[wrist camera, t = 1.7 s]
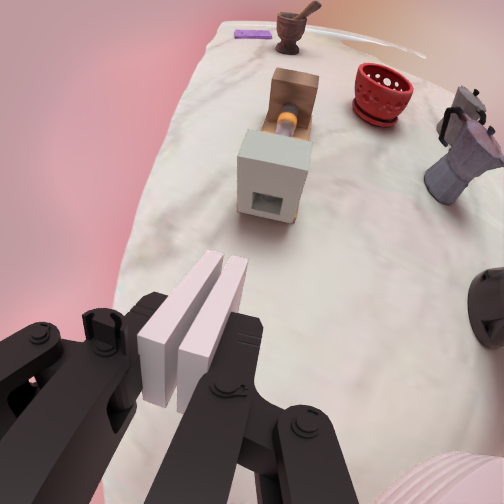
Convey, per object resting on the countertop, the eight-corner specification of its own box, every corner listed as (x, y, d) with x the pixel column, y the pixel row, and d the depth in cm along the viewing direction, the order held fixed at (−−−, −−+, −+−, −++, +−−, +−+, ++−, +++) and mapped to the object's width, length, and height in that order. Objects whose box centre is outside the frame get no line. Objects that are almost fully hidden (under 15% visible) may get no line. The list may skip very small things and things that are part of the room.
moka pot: (455, 224, 44) (515, 163, 26) (403, 170, 49) (447, 97, 31) (467, 202, 47) (518, 146, 29) (420, 154, 52) (459, 89, 33)
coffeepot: (429, 116, 60) (454, 70, 43) (453, 127, 59) (479, 84, 43) (445, 152, 53) (479, 102, 37) (470, 163, 53) (504, 118, 37)
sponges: (234, 33, 76) (234, 29, 74) (269, 34, 77) (270, 30, 75) (234, 39, 73) (234, 35, 71) (271, 40, 74) (272, 35, 72)
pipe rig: (311, 121, 53) (321, 76, 42) (294, 222, 42) (310, 173, 32) (269, 112, 53) (273, 67, 43) (236, 210, 43) (236, 158, 32)
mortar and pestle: (306, 47, 72) (314, -3, 53) (314, 57, 68) (324, 3, 50) (271, 45, 70) (276, -7, 52) (277, 55, 67) (283, -2, 49)
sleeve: (296, 196, 42) (312, 142, 31) (291, 223, 40) (308, 171, 29) (245, 185, 42) (247, 128, 32) (237, 211, 40) (237, 156, 30)
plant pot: (366, 95, 60) (378, 59, 49) (404, 124, 56) (422, 89, 45) (335, 105, 56) (347, 63, 46) (378, 138, 52) (398, 97, 41)
